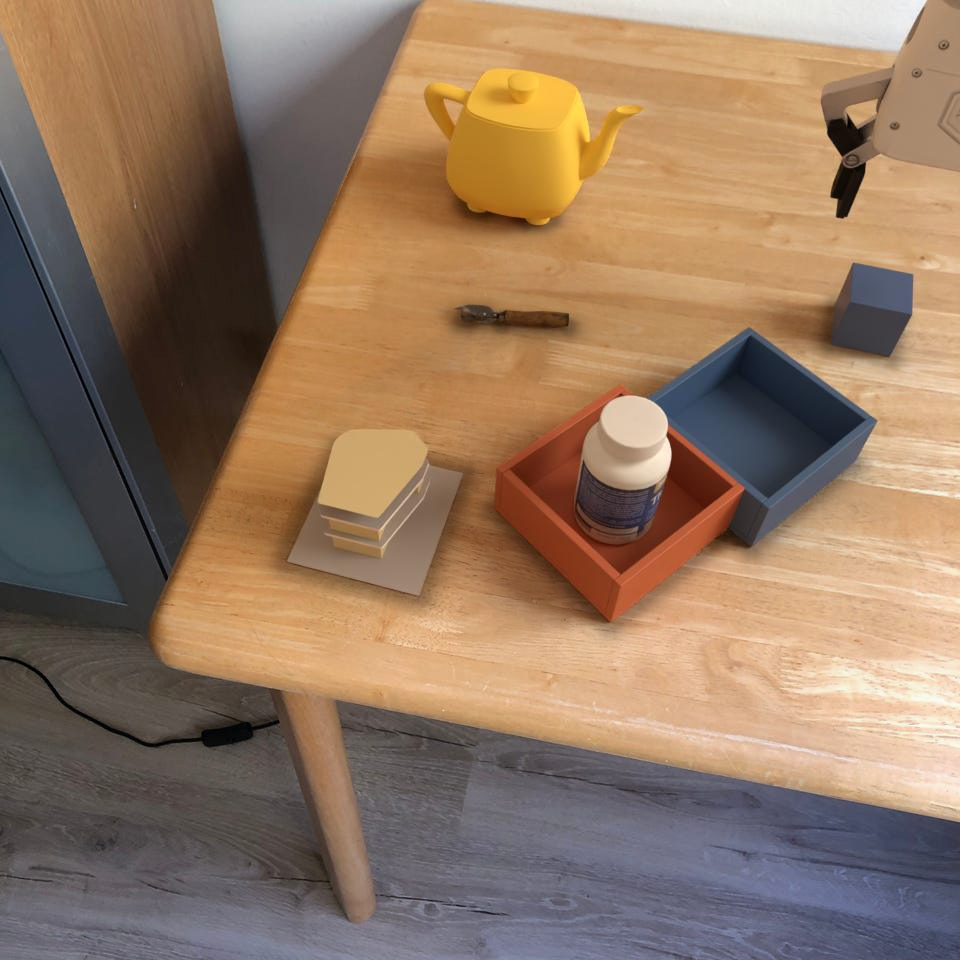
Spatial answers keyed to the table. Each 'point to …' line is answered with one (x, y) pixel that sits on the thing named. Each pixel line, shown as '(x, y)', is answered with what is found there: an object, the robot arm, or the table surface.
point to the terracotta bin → (600, 566)
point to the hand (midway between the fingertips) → (912, 219)
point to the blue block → (872, 309)
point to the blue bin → (765, 427)
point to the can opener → (515, 316)
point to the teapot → (521, 142)
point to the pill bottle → (622, 471)
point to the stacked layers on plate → (378, 510)
